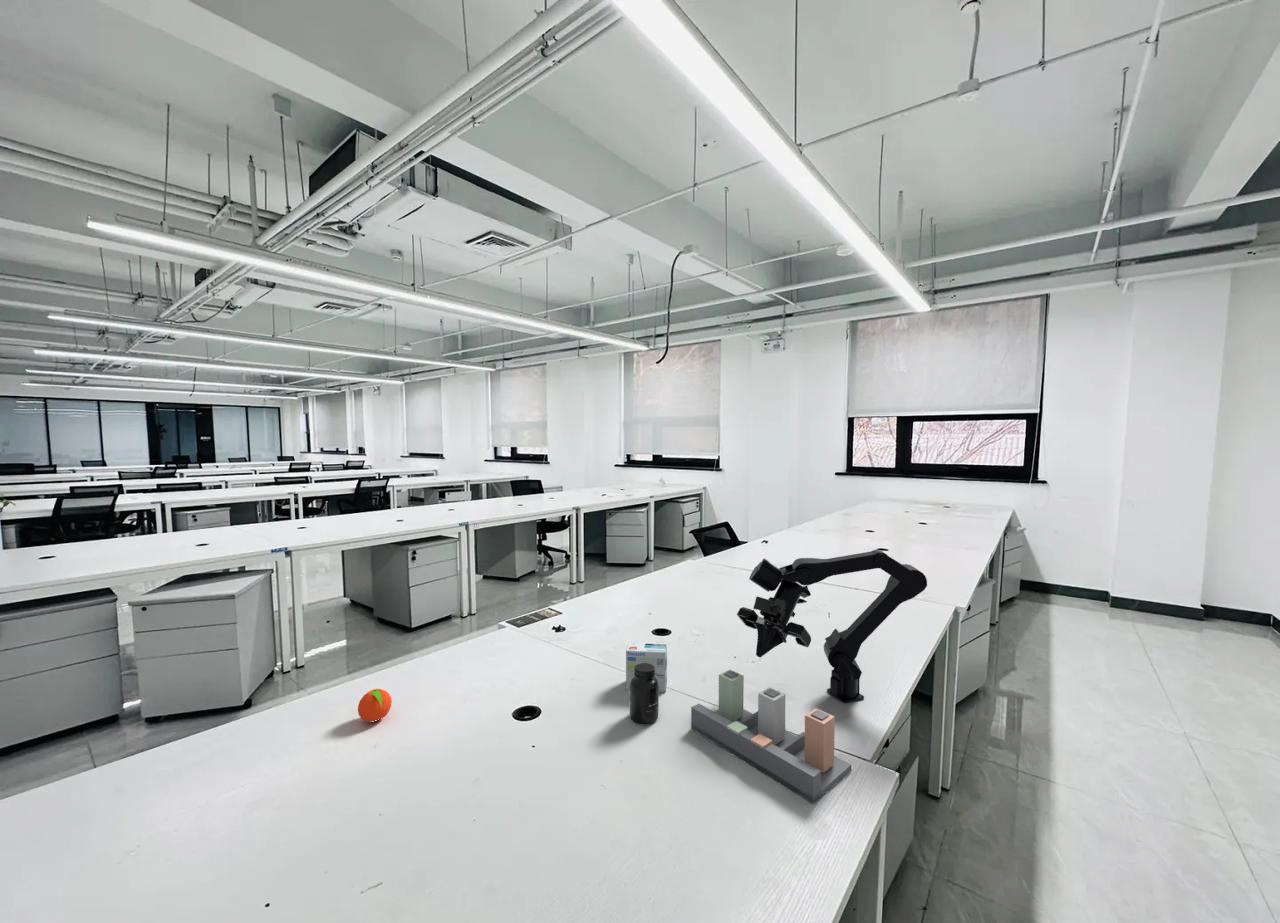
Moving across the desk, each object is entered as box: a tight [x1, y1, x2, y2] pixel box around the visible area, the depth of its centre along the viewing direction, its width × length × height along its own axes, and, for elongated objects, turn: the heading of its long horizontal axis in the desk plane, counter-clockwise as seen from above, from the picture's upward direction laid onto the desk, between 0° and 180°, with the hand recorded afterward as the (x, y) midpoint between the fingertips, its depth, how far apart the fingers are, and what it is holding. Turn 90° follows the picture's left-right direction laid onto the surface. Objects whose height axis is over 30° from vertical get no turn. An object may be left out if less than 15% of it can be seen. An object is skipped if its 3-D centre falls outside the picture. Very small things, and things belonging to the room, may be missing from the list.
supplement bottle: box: [629, 663, 660, 726], centre depth 113 cm, size 7×7×12 cm
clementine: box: [357, 688, 393, 722], centre depth 112 cm, size 8×7×7 cm
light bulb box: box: [625, 640, 668, 693], centre depth 129 cm, size 11×7×11 cm, turn 84°
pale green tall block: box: [718, 669, 745, 722], centre depth 111 cm, size 4×4×10 cm
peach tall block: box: [804, 707, 836, 773], centre depth 95 cm, size 4×4×10 cm
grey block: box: [757, 686, 786, 745], centre depth 103 cm, size 4×4×10 cm
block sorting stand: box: [690, 703, 852, 805], centre depth 102 cm, size 14×30×6 cm, turn 40°
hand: (757, 656), depth 118 cm, fingers closed
